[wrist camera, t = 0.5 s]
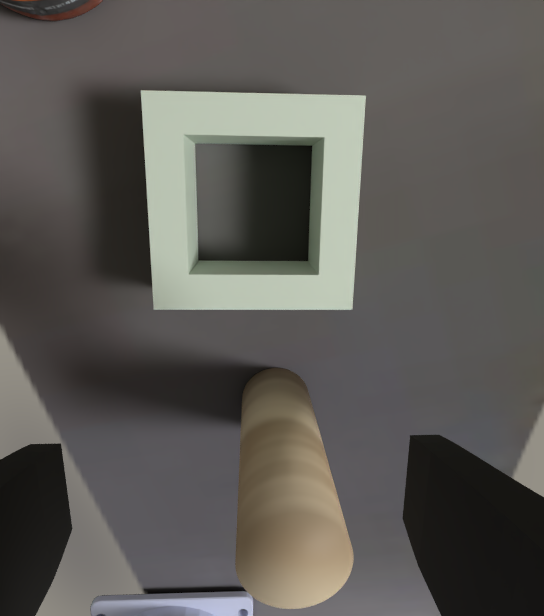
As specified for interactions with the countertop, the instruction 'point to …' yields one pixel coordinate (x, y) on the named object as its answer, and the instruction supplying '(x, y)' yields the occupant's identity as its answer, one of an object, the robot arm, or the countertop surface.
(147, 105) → the hole block
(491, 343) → the countertop surface
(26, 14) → the supplement bottle
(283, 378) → the beech peg
